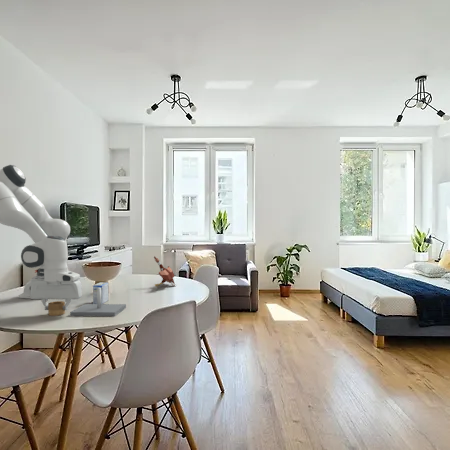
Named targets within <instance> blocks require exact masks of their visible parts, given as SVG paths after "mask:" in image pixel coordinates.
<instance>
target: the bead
mask: <svg viewBox="0 0 450 450" xmlns="http://www.w3.org/2000/svg"><path fill="white" fill-rule="evenodd" d="M47 303H48V310H47V312H48V313H47V314H48V316H51V317H55V316H63V315H65V314H66V312H65V311H66V310H63V306H64V305H65V304H66V303H65V300H63V301H62V300H57V301H50V302H47Z"/></svg>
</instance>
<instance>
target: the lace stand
mask: <svg viewBox="0 0 450 450" xmlns="http://www.w3.org/2000/svg"><path fill="white" fill-rule="evenodd" d="M126 308H127V304H126V303H123V304H121V303H119V304H118V303H103V304H101V288H97V304H93V303H84V304H83V305H81V306H78V307H77V308H75V309H73V310H71V311H69V317H116V316H117V315H118V314H119V313H122V311H124V310H125V309H126Z"/></svg>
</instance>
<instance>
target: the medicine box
mask: <svg viewBox="0 0 450 450" xmlns="http://www.w3.org/2000/svg"><path fill="white" fill-rule="evenodd" d="M97 288H101V304H106V302H108V301H109V282H98V283H96V284H94V285H92V304H97Z"/></svg>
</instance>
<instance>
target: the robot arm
mask: <svg viewBox="0 0 450 450" xmlns="http://www.w3.org/2000/svg"><path fill="white" fill-rule="evenodd" d="M26 181H27V179H26V176H25V173H24V172H23V171H22V170H21V169H20V168H19V167H17V166H16V165H14V164H9V165H6V166H4V167H2V168H1V169H0V224H1V225H4V226H7V227H11V228H14V229H18V230H20V231H23V232H24V233H26V234H27V235H28V236H29V237H30V238H31V240H32V241H33V242H34V243H32V244H29V245H26V246H24V247H23V249H22V251H21V254H20V260H21V262H22V264H23V265H24V266H25V267H26V268H30V269H36V268H37V269H36V270H34V273H36V275H35V276H33V277H32V278H31V279H30V280H29V281H28V282H26V283H25V285H24V287H23V292H22V293H20V294H19V295H18V297H17V298H18V299H32V300H41V302H42V303H41V304H42V305H43V306H44V310H45V311H48V303H49V302H48V301H49V300H64V302H66V303H65V305H64V306H63V310H65V311H68V310H69V305H70V303H71V301H72V300H79V299H81V298H82V297H83V285H82V282H81V280H79V279H81V274H80V273H77V272H74V271H71V270H69V266H68V260H69V259H68V258H69V252H68V251H69V250H68V243H67V240H68V237H69V235H70V233H71V226H70V224H69V223H68V222H67V221H66V220H64V219H61V218H53V217H52V216H51V215H50V214H49V212H48V210H47V209H46V206H45V204H44V203H43V202H42V201H41V200H40V199H39V198H38V197H37V196H36V195H35V194H34V193H33V191H31V190H30V189H29V188H28V187H27V186H26V185H25V184H26Z"/></svg>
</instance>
